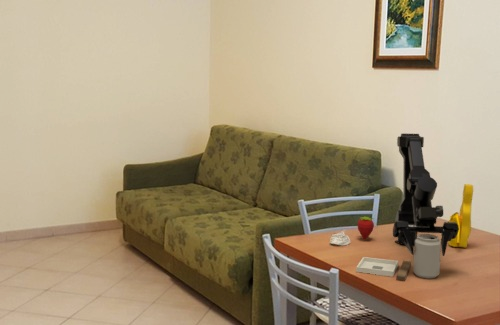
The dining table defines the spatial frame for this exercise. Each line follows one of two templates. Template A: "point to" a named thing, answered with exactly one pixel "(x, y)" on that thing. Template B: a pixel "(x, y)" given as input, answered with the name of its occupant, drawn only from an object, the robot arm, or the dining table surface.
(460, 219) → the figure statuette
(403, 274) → the strip
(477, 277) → the dining table surface
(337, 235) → the whipped cream
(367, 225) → the strawberry
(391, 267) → the tray
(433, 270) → the can
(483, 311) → the dining table surface
